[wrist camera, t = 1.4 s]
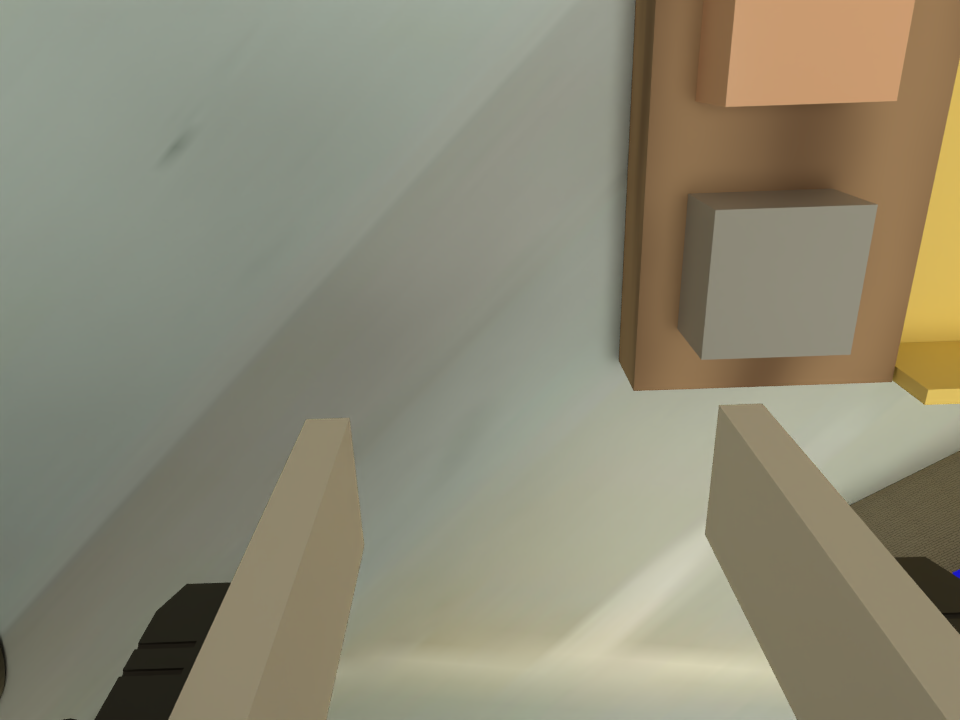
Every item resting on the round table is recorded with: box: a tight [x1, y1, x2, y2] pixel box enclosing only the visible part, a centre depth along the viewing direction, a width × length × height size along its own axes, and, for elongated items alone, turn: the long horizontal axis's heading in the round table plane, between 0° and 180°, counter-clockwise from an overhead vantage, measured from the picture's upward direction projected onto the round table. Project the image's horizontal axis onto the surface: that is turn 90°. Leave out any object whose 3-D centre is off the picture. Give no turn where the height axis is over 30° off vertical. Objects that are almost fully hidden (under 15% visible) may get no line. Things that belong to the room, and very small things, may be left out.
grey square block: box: [677, 189, 878, 360], centre depth 24 cm, size 5×5×3 cm
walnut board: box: [619, 0, 960, 391], centre depth 26 cm, size 10×18×3 cm, turn 2°
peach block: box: [695, 0, 915, 107], centre depth 21 cm, size 5×5×3 cm
